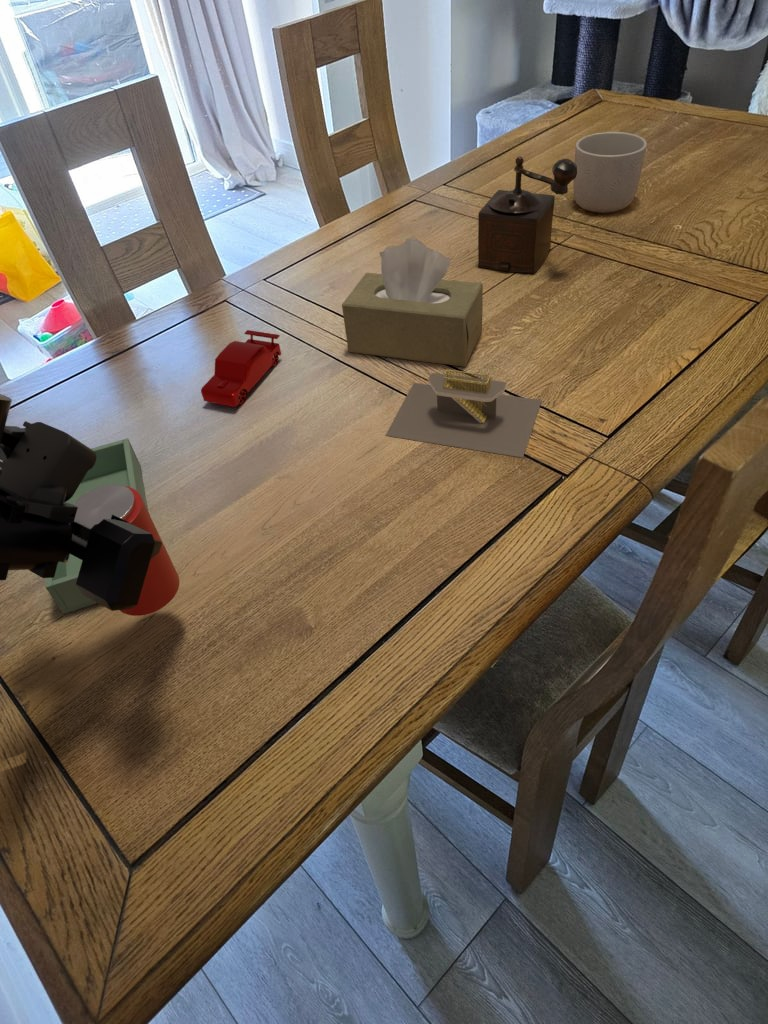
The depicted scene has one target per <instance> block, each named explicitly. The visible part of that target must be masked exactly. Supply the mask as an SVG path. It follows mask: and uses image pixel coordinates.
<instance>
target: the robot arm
mask: <svg viewBox="0 0 768 1024" xmlns="http://www.w3.org/2000/svg"><path fill="white" fill-rule="evenodd" d="M12 401H13V399H12V398H10V397H9V396H7V395H5V394H2V393H0V581H7V578H8V573H9V571H29V572H31V573H32V574H34V575H36V576H38V577H40V578H41V579H45V578H54V576H55V572H56V569H57V565H58V562H63V563H64V562H67V561H68V559H69V555H70V554H71V555H73V556H75V557H77V558H79V559H81V560H82V564H81V567H80V571H79V575H78V578H77V582H76V585H77V587H78V588H79V590H80V591H81V593H82V594H83V595H84V596H86V597H88V598H90V599H92V600H93V601H95V602H97V603H96V604H99V605H100V606H102V607H104V608H105V609H108V610H110V611H111V612H113V611H114V612H115V611H120V610H125V609H131V608H133V607H135V606H136V605H138V601H139V598H140V594H141V591H142V587H143V584H144V580H145V577H146V574H147V570H148V567H149V563H150V560H151V559H152V558H153V557H154V556H156V555H157V554H158V553H159V552H160V549H161V545H162V542H163V541H162V542H161V541H159V540H155V539H154V538H153V535H152V534H151V533H149V532H147V531H145V530H143V529H141V528H139V527H136V526H134V525H133V524H131V523H129V522H127V521H125V520H123V519H121V518H119V517H117V516H115V515H112V517H111V519H103V520H102V521H101V522H100V523H99V524H95V525H94V526H93V527H92V528H90V527H88V526H86V525H84V524H82V523H80V522H78V521H76V520H75V516H76V512H77V509H78V507H76V506H74V505H72V504H69V503H66V501H68V500H69V499H70V498H71V497H72V496H73V495H74V493H75V492H76V490H77V488H78V487H79V485H80V483H81V482H82V480H83V478H84V477H85V475H86V474H87V472H88V471H89V470H90V469H92V468H93V466H94V464H95V462H96V458H97V456H96V453H95V452H94V451H93V450H92V448H90V447H89V446H87V445H86V444H84V443H83V442H81V441H80V440H78V439H77V438H75V437H74V436H72V435H70V434H69V433H68V432H65V431H63V430H62V429H61V430H60V429H59V428H56V427H54V426H51V425H49V424H46V423H44V422H42V421H36V422H32V423H31V422H28V421H26V420H24V422H23V424H22V426H23V427H24V428H23V427H20V426H17V425H16V426H15V425H7V420H8V418H9V417H8V416H9V413H10V409H11V405H12ZM87 540H88V541H87Z"/></svg>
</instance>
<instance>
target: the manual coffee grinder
mask: <svg viewBox="0 0 768 1024" xmlns="http://www.w3.org/2000/svg"><path fill="white" fill-rule="evenodd" d="M514 162H515V166H514V168H513V171H514V172H515V184H514V189H511V190H504V189H498V190H497V191H495V193H494V194H493V196H492V197H491V198H490V199H489V200H488V201H487V202H486V203H485V204H484V206H483V207H482V208H481V209H480V210H479V212H478V215H477V219H478V222H477V223H478V225H477V228H478V230H477V231H478V232H477V234H478V236H477V246H478V247H477V252H478V253H477V254H478V255H477V257H478V259H477V261H478V262H477V267H478V268H482V269H489V270H495V271H500V272H508V273H509V272H511V273H512V272H513V273H521V274H523V273H524V274H526V273H527V274H534V273H536V272H537V271H538V270H539V269H540V268H541V267H542V265H543V263H544V262H545V261H546V259H547V257H548V255H549V252H550V249H551V247H552V229H553V220H554V211H555V210H554V208H555V197H556V195H560V196H561V195H562V196H563V195H565V194H568V191H569V187H568V186H569V184H570V183H571V182H572V181H573V179H575V178H576V175H577V165H576V164H575V163H574V162H575V161H573V160H571V159H569V158H561V159H558V160H557V161H556V162H555V163H554V165H553V166H552V170H551V171H552V175H553V178H554V179H553V178H552V177H549V176H547V175H542V174H540V173H536V172H533V171H530V170H527V169H525V168H524V162H525V160H524V158H523V157H522V156H517V157H516V158H515V161H514ZM522 175H523V176H525V177H527V178H530V179H532V180H536V181H539V182H542V183H546V184H548V185H550V190H551V192H553V193H554V194H555V195H554V194H547V193H538V192H537V193H536V192H531V191H529V190H525V189H522Z"/></svg>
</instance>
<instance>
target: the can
mask: <svg viewBox="0 0 768 1024" xmlns="http://www.w3.org/2000/svg"><path fill="white" fill-rule="evenodd" d="M74 506H76V507H78V509H77V512H76V516H75V520H76V521H78V522H80V523H82V524H84V525H86V526H88V527H90V528H92V527H93V526H94V525H95V524H99V523H100V522H101V521H102V520H103V519H111V517H112V515H115V516H117V517H119V518H121V519H123V520H125V521H127V522H129V523H131V524H133V525H134V526H136V527H139V528H141V529H143V530H145V531H147V532H149V533H151V534H152V535H153V538H154V539H155V540H159V541H161V542H162V545H161V549H160V552H159V553H158V554H157V555H156V556H154V557H153V558H152V559H151V560H150V563H149V567H148V570H147V574H146V577H145V580H144V584H143V587H142V591H141V594H140V598H139V601H138V605H136V606H135V607H133V608H131V609H125V610H119V611H120V612H121V613H122V614H124V615H128V616H133V617H140V616H141V617H142V616H147V615H150V614H153V613H156V612H158V611H160V610H161V609H163V608H164V607H166V606H167V605H168V604H169V603H170V602H172V600H173V599H174V598H175V596H176V595H177V593H178V591H179V588H180V576H179V574H178V571H177V570H176V568H175V565H174V564H173V561H172V559H171V557H170V555H169V553H168V551H167V549H166V546H165V544H164V542H163V540H162V538H161V536H160V534H159V531H158V529H157V527H156V525H155V523H154V521H153V519H152V517H151V515H150V512H149V509H148V510H147V508H146V506H145V504H144V502H143V500H142V497H141V495H140V494H139V493H138V492H137V491H136V490H135V489H133V488H131V487H128V486H123V485H118V484H109V485H103V486H100V487H97V488H94V489H92V490H90V491H88V492H86V493H85V494H83V495H82V496H81V497H80V498H79V499H78V500H77V501H76V502H75V503H74ZM87 541H88V540H87Z"/></svg>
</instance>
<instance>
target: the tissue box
mask: <svg viewBox="0 0 768 1024" xmlns="http://www.w3.org/2000/svg"><path fill="white" fill-rule="evenodd" d="M378 253H379V256H380V258H381V261H380V264H381V265H380V266H381V267H380V268H381V273H375V272H366V273H364V275H363V276H362V277H361V278H360V280H359V281H358V283H357V284H356V285H355V286H354V288H353V289H352V291H351V292H350V293H349V294H348V296H347V297H346V299H344V301H343V302H342V304H341V309H342V316H343V323H344V324H343V325H344V330H345V336H346V337H345V338H346V344H347V351H348V352H349V353H353V354H362V355H370V356H377V357H378V356H379V357H385V358H386V357H387V358H393V359H399V360H400V359H401V360H408V361H416V362H425V363H431V364H438V365H439V364H441V365H447V366H455V367H461V368H462V367H466V366H467V364H468V362H469V359H470V357H471V356H472V353H473V351H474V349H475V347H476V345H477V344H478V341H479V339H480V338H481V337H480V336H481V335H482V332H483V310H484V309H483V308H484V307H483V304H484V303H483V301H484V300H483V299H484V298H483V296H484V295H483V294H484V293H483V292H484V285H483V283H482V282H475V281H474V282H472V281H462V280H451V279H443V278H445V276H446V275H447V272H448V270H449V267H450V265H451V262H452V258H450V257H446V256H445V255H444V254H443V253H442V252H440V251H438V250H436V249H433V248H431V247H428V246H427V245H426V244H425V243H424V242H422V241H421V240H419V239H417V238H411V237H410V238H409V237H408V238H406V239H405V241H404V242H402V243H400V244H398V245H390V246H387V247H385V248H384V250H383V251H379V252H378Z"/></svg>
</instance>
